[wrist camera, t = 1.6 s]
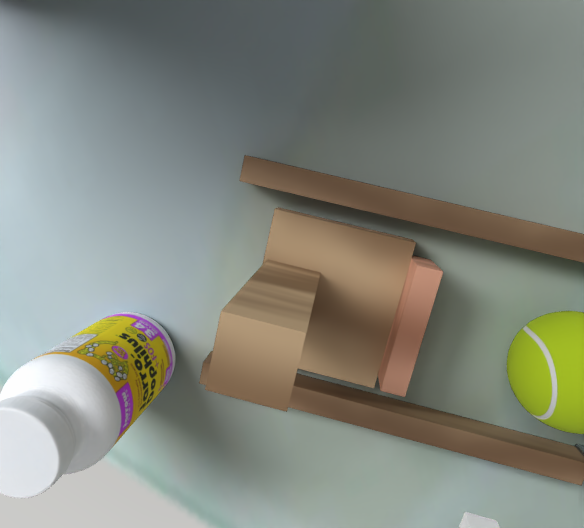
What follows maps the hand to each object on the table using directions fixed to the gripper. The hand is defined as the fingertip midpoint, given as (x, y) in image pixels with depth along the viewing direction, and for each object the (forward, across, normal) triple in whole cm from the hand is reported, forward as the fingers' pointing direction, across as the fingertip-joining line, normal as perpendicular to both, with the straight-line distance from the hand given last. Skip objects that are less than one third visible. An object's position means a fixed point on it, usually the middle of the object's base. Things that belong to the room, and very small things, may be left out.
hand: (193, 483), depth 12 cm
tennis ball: (+21, +18, 0) cm, 27 cm away
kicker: (+21, +3, 0) cm, 21 cm away
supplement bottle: (+21, -10, -8) cm, 24 cm away
